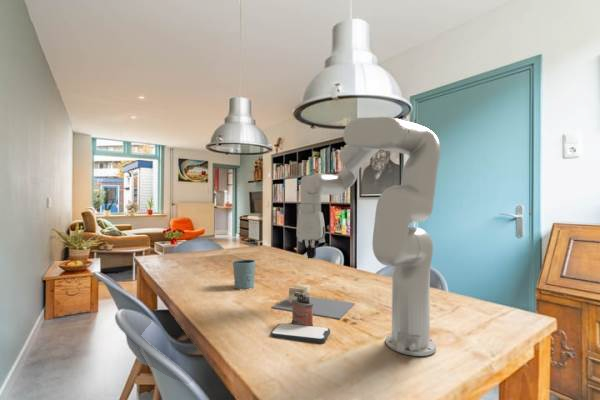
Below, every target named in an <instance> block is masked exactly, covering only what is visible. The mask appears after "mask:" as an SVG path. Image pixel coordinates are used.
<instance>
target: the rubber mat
mask: <svg viewBox="0 0 600 400" xmlns="http://www.w3.org/2000/svg"><path fill="white" fill-rule="evenodd" d="M310 302H312V303H313V316H316V317H317V316H318V317H324V318H330V319H335V320H341V319H342V318H343V317H344V316H345V315H346V314H347V313H348V312H349V310H351V309H352V308H353V307H354V306H355V304H356V303H355V302H351V301H349V302H348V301H344V300H337V299H329V298H322V297H315V296H310ZM275 308H276V309H275ZM271 309H275V310H280V311H282V310H283V311H287V312H292V304H289V296H288V297H287V298H284V299H283V300H281V301H280V302H278V303H276V304H274V305H273V306H271Z"/></svg>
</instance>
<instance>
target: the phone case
mask: <svg viewBox="0 0 600 400" xmlns="http://www.w3.org/2000/svg"><path fill="white" fill-rule="evenodd" d="M330 333H331V330H330V328H329V327H322V326H314V325H313V326H304V325H294V324H292V323H282V322H281V323H279V324H278V325H277V326H276V327H274V329H272V331H271V332H270V337H271V338H276V339H282V338H283V339H284V340H291V341H298V342H304V343H305V342H307V343H311V344H312V343H313V344H321V345H322V344H325V343H326V342H327V340H328V338H329V336H330ZM283 339H282V340H283Z"/></svg>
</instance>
